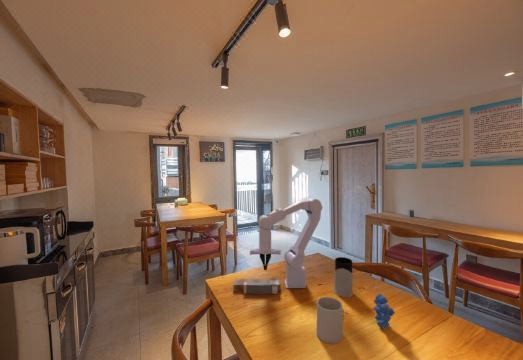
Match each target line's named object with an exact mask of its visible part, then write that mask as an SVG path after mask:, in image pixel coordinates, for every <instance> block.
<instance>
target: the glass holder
mask: <svg viewBox="0 0 523 360" xmlns="http://www.w3.org/2000/svg"><path fill="white" fill-rule="evenodd" d="M353 273H354V272H353V260H352V259H351V258H348V257H344V256H343V257H339V256H338V257H336V258H335V259H334V281H333V282H334V283H333V285H334V288H333V290H332V291H333V294H335V295H336V296H339V297H342V298H351V297H353V296H354V291H353V280H354V279H353V277H354V276H353V275H354V274H353Z"/></svg>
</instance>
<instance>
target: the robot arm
mask: <svg viewBox="0 0 523 360" xmlns="http://www.w3.org/2000/svg"><path fill="white" fill-rule="evenodd" d="M323 207H324V206H323V204H322V202H321V200H319V199H317V198H313V197H312V198H311V197H304V198H301V199H300V200H298V201H295V202H294V203H293V204H290V205H289V206H287V207H285V208H284V209H283V208H278V207H277V208H274V210H273V211H271V212H267V213H266V214H262V215H260V216H259V217H258V220H257V224H258V226H259V229H258V232H259V233H258V236H259V237H258V241H259V242H258V248H254V249H249V255H250V256H253V255H259V259H260V261H261V262H262V266H263V271H267V270H268V266H269V263H270V261H271V258H272V255H279V256H280V255H282V254H281V253H282V250H281V248H280V249H277V248H272V228H273V226H274V225H277V223H280V222H282V221H285V220H286V218H287V216H288V215H289V216H290V215H291V214H294V213H296V212H299V211H300V210H304V211H305V213H306V214H307V217H308V218H307V220H306V222H305V224H304V226H303V228H302V230H301V232H300V233H299V236H298V237H297V239H296V241H295V243H294V244H293V246H291V247H289V249H288V250H287V251H286V252H284V256H283V257H284V261H285V262H286V263H285V266H286V267H285V272H286V274H285V279H284V283H285V288H286V289H306V288H307V286H306V285H307V284H306V280H307V278H306V277H307V272H306V267H305V266H303V265H304V259H305V250H306V248H307V247H308V245H309V243H310V240H311V238H312V236H313V234H314V232H315V230H316V228H317V226H318V225H319V223H320V221H321V217H322V215H321V213H322V210H323Z"/></svg>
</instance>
